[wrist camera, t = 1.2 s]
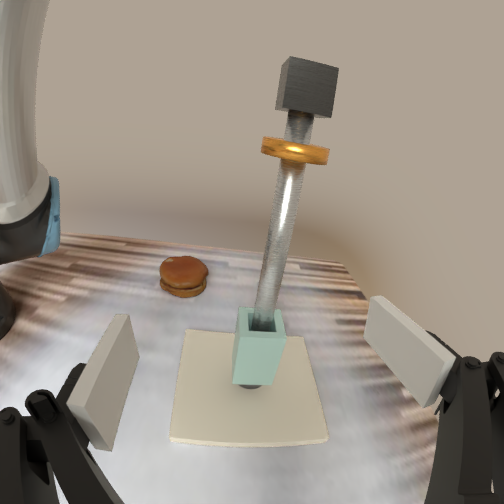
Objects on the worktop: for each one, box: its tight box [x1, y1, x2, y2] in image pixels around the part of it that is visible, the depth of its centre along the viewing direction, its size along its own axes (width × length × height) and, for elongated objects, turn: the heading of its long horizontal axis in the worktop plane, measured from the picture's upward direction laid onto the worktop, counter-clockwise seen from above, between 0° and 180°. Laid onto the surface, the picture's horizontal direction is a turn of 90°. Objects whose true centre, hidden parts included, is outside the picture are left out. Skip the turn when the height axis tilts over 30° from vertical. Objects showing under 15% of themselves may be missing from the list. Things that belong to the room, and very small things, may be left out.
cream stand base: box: [169, 329, 329, 447], centre depth 33 cm, size 18×18×2 cm
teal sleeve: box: [232, 307, 287, 385], centre depth 29 cm, size 5×5×8 cm
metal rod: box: [238, 56, 339, 389], centre depth 25 cm, size 5×5×34 cm
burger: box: [160, 256, 208, 298], centre depth 51 cm, size 10×9×5 cm
